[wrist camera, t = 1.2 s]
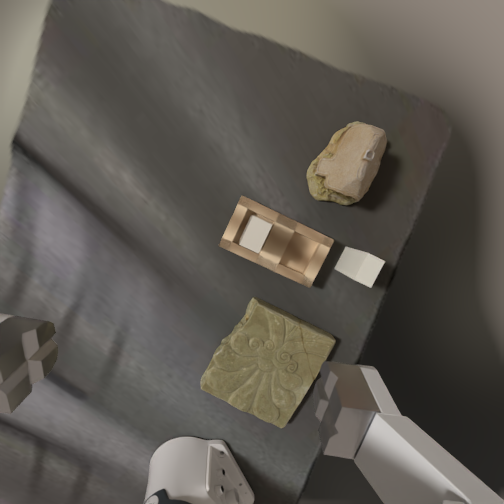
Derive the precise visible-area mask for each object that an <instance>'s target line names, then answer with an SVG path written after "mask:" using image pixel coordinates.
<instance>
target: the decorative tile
mask: <svg viewBox="0 0 504 504" xmlns="http://www.w3.org/2000/svg"><path fill="white" fill-rule="evenodd" d="M335 342H336V340H335V339H334V337H333V336H332V335H331V334H330V333H328V332H326V331H324V330H322V329H319V328H317V327H316V326H314V325H312V324H310V323H308V322H306V321H303V320H301V319H299V318H297V317H295V316H293V315H291V314H289V313H288V312H286V311H284V310H281V309H279V308H277V307H275V306H273V305H271V304H269V303H267V302H265V301H263V300H261V299H259V298H257V297H253V298H252V300H251V301H250V302H249V304H248V307H247V310H246V314H245V316H244V318H243V319H242V320H241V321H240V322H239V324H237V325H236V326H235V327H234V330H233V331H232V333H231V334H230V335H229V336H227V337H225V338H224V339H223V340H222V343H221V345H220V346H219V347H218V348H217V349H216V351H215V353H214V355H213V358H212V359H211V362H210V364H209V365H208V367H207V369H206V371H205V372H204V374H203V376H202V378H201V389H202V390H204V391H206V392H208V393H210V394H212V395H214V396H216V397H218V398H220V399H223V400H225V401H227V402H228V403H229V404H230V405H232V406H234V407H236V408H238V409H240V410H241V411H244V412H248V413H251V414H253V415H255V416H257V417H258V418H260V419H262V420H264V421H266V422H269V423H273V424H274V425H276V426H278V427H280V428H284V427H285V425H286V424H287V422H288V421H289V419H290V418H291V416H292V415H293V413H294V411H295V410H296V408H297V407H298V405H299V404H300V402H301V401H302V399H303V398H304V396H305V394H306V393H307V391H308V389H309V388H310V386H311V384H312V383H313V381H314V380H315V378H316V377H317V375H318V373H319V371H320V368H321V365H322V363H323V362H324V361H326V359H327V357H328V355H329V354H330V352H331V350H332V348H333V346H334V344H335Z"/></svg>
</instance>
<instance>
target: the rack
mask: <svg viewBox="0 0 504 504" xmlns="http://www.w3.org/2000/svg"><path fill="white" fill-rule="evenodd" d="M251 215H253V216H255V217H257V218H260V219H262V220H264V221H266V222H268V223H270V224H272V227H271V229H270V231H269V233H268V235H267V237H266V239H265V242H264V244H263V246H262V248H261V250H260V252H259V254H258V253H256V252H254V251H252V250H250V249H247V248H245V247H243V246H241V245H239V242H240V238H241V236H242V233H243V231H244V229H245V227H246V225H247V223H248V221H249V218H250V216H251ZM333 242H334V240H333V239H331V238H329V237H327V236H325V235H323V234H321V233H319V232H317V231H315V230H313V229H311V228H308V227H306V226H304V225H302V224H300V223H298V222H296V221H294V220H292V219H290V218H288V217H286V216H284V215H282V214H279V213H277V212H275V211H273V210H271V209H269V208H267V207H265V206H263V205H261V204H259V203H257V202H255V201H253V200H251V199H248V198H246V197H244V196H241V198H240V200H239V202H238V205H237V207H236V209H235V211H234V213H233V216H232V218H231V220H230V222H229V224H228V226H227V229H226V231H225V233H224V235H223V237H222V239H221V242H220V244H219V246H220V247H222V248H224V249H227V250H229V251H231V252H233V253H235V254H237V255H240V256H242V257H244V258H246V259H248V260H251V261H253V262H255V263H257V264H259V265H261V266H264V267H266V268H268V269H270V270H272V271H274V272H277V273H279V274H281V275H283V276H285V277H287V278H290V279H292V280H294V281H296V282H298V283H301V284H303V285H305V286H307V287H309V288H310V287H311V285H312V283H313V281H314V279H315V277H316V275H317V273H318V271H319V270H320V268H321V266H322V264H323V262H324V260H325V258H326V256H327V254H328V252H329V250H330V248H331V246H332V244H333Z"/></svg>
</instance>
